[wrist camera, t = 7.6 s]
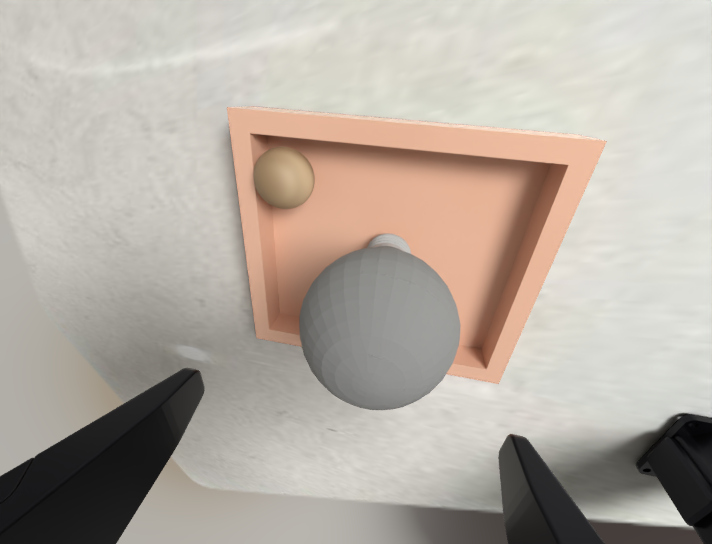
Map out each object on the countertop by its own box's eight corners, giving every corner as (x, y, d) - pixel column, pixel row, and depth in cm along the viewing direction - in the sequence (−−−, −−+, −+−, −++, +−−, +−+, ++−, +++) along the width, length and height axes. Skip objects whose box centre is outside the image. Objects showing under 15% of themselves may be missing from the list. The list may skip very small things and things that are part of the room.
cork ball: (322, 145, 16) (302, 154, 13) (321, 202, 17) (303, 220, 15) (267, 140, 16) (237, 148, 14) (271, 196, 18) (245, 212, 15)
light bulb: (322, 222, 18) (236, 331, 9) (423, 184, 16) (440, 275, 7) (361, 305, 20) (323, 457, 11) (454, 280, 18) (495, 439, 9)
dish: (579, 134, 14) (606, 141, 12) (491, 356, 21) (498, 384, 19) (251, 106, 16) (226, 107, 14) (271, 316, 23) (256, 338, 21)
